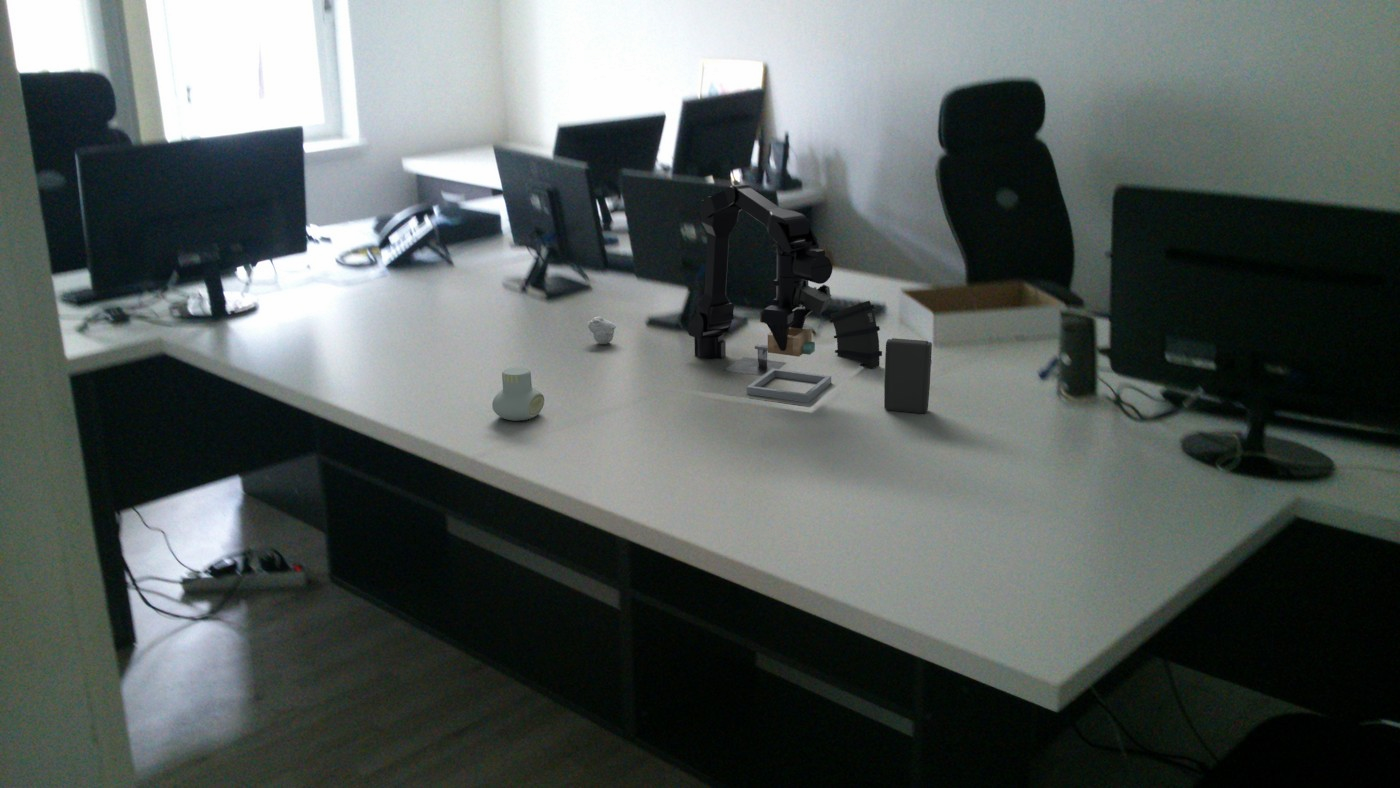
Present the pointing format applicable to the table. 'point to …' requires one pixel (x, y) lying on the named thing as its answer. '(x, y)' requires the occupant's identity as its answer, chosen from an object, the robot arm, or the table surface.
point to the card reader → (907, 375)
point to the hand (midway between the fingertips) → (789, 345)
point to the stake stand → (755, 363)
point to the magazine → (857, 334)
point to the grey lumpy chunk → (601, 329)
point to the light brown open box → (794, 343)
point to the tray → (795, 396)
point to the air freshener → (517, 396)
